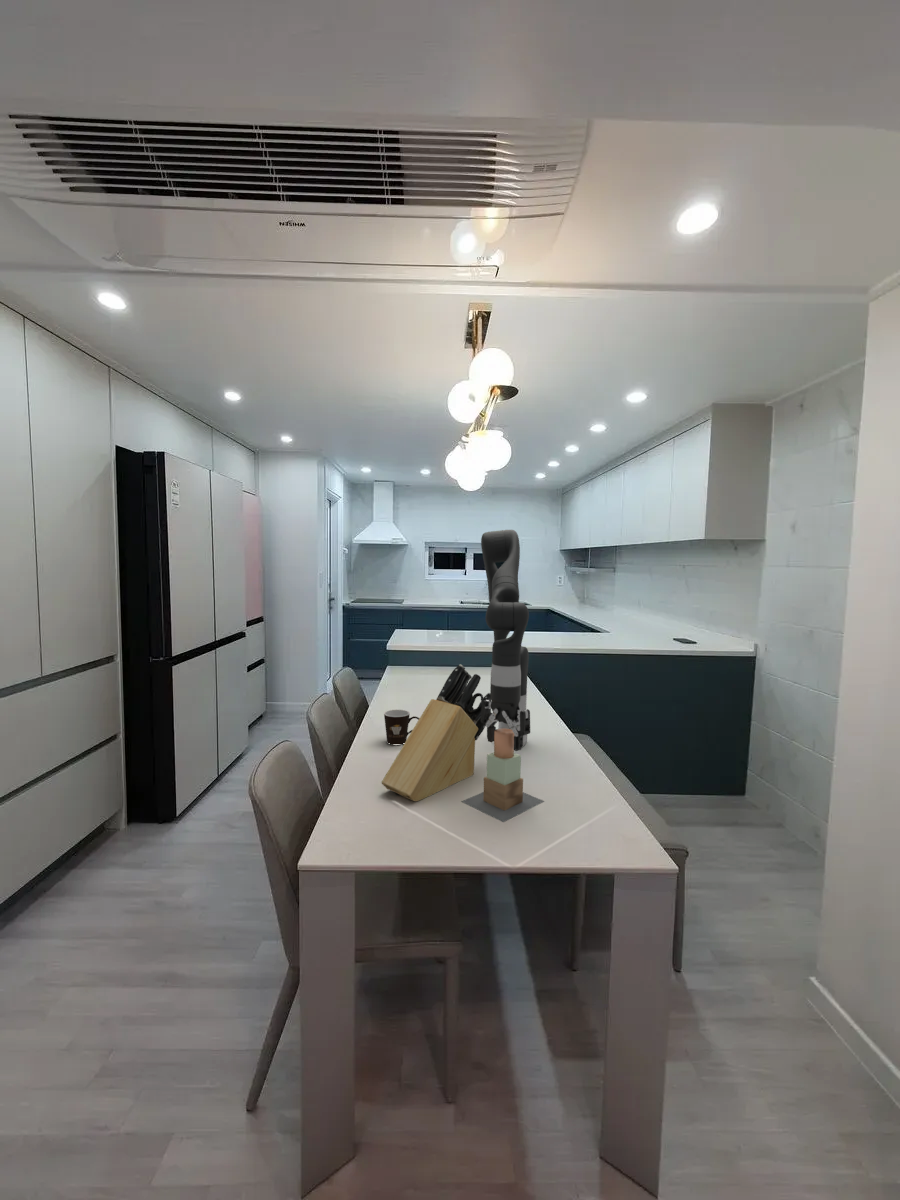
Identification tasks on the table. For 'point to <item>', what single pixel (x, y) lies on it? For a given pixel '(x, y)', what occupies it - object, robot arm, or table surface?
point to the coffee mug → (397, 725)
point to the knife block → (440, 741)
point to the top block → (503, 768)
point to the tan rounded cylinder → (504, 743)
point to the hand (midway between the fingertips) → (504, 745)
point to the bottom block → (503, 793)
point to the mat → (499, 813)
